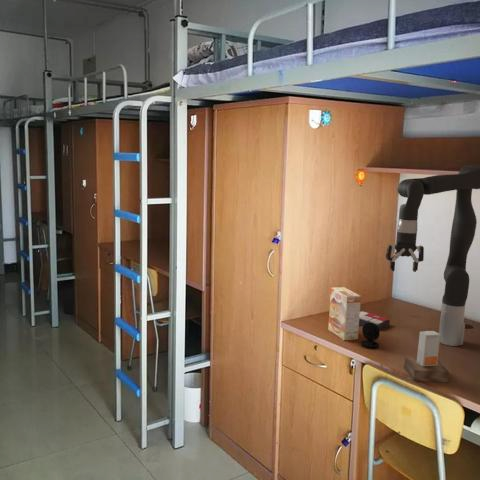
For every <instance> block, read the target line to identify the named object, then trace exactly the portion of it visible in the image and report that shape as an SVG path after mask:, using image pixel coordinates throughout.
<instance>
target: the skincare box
mask: <svg viewBox="0 0 480 480" xmlns="http://www.w3.org/2000/svg"><path fill="white" fill-rule="evenodd" d="M418 336H419V337H418V345H417V346H418V347H417V355H416V358H417V363H418V364H420V365H421V366H437V360H439V359H438V358H439V349H440V344H441V343H440V334H439V332H436V331H435V330H425V331H419V335H418Z"/></svg>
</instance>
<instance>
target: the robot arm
mask: <svg viewBox="0 0 480 480" xmlns="http://www.w3.org/2000/svg"><path fill="white" fill-rule="evenodd" d="M396 190H397V194H398V195H400V197H403V198H405V199H407V200H406V202H405V203H403V204H401V205H400V207H399V210H398V212H399V214H398V221H397V227H396V238H395V239H396V240H395V245H394V244H390V243H389V244H387V247H386V254H385V259H386V260H388V261H389V269H390V270H391V271H392V272H395V267H396V261H397V260H398V259H399V258H400V257H406V258H409V257H410V258H412V260H413V261H412V272H414V273H415V272H417V271H418V268H419V263H420V262H423V261H424V259H425V257H424V255H425V253H424V251H425V250H424V249H425V248H424V246H423V245H419V246H418V245H417V235H418V217H419V210H420V207H421V203H422V201H423V198H424V195H435V194H441V193H445V192H450V191H456V197H455V203H454V214H453V218H452V219H453V220H452V225H451V231H450V239H449V250H448V251H449V252H448V256H447V261H446V263H445V268H444V272H443V280H444V282H445V284H444V285H445V286H444V293H443V296H442V299H441V309H440V319H439V330H438V333H439V334H440V343H439V344H442V345H445V346H450V347H452V346H453V347H457V346H464V337H465V329H466V323H465V322H464V321H465V320H464V319H465V310H466V302H467V299H468V297H469V296H468V294H469V287H470V275H469V273H468V271H467V259H468V253H469V251H470V249H471V247H472V244H473V241H474V240H475V236H476V229H477V223H478V222H477V216H476V212H475V209H474V207H473V204H472V203H473V202H472V193H473V190H480V166H477V165H464V166H462V167H461V168H460V170H459V171H458V173H455V174H453V173H452V174H436V175H431V176H425V177H418V178H407V179H404V180H401V181H400V182H399V184H398V185H397V188H396ZM394 250H395V252H394V253H393V254H392V251H394ZM416 251H417V252H418V257H417V256H416V253H415V252H416Z"/></svg>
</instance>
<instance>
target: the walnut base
mask: <svg viewBox="0 0 480 480" xmlns="http://www.w3.org/2000/svg"><path fill="white" fill-rule="evenodd" d="M403 362H404V364H403V368H404V369H405V371H406V372H407V374H408V375H409V377H410V379H412V381H413V382H429V383H430V382H431V383H432V382H433V383H449V382H448V380H449V370H448V369H447V368H446V367H445V366H444V365H443V364H442V362H441V361H440V360H439V359H438V360H437V366H421V365H420V364H418V363H417V357H404V361H403Z"/></svg>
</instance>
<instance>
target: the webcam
mask: <svg viewBox="0 0 480 480" xmlns="http://www.w3.org/2000/svg"><path fill="white" fill-rule="evenodd" d="M361 329H362V331H361V333H362V336H363V337H364V338H365V340H362V341H361V342H360V346H361V347H363V348H365V349H371V350H375V349H378V348H380V344H379V343H378V342H377V340H378V339H379V337H380V330H379V328H378V327H377V325H376V324H374V323H371V322H369V323H366V324H365V325H364V326H362V328H361Z"/></svg>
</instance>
